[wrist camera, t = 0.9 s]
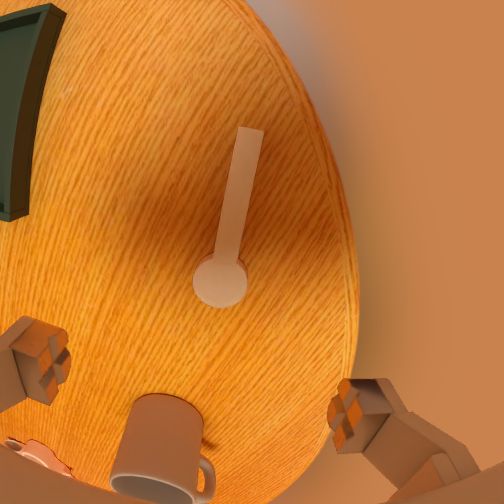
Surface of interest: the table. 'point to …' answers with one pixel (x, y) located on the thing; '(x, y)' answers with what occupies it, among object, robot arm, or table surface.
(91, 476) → the table surface
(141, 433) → the mug
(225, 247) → the spoon
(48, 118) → the table surface
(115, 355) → the table surface
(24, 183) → the tray
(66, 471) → the knuckle duster
